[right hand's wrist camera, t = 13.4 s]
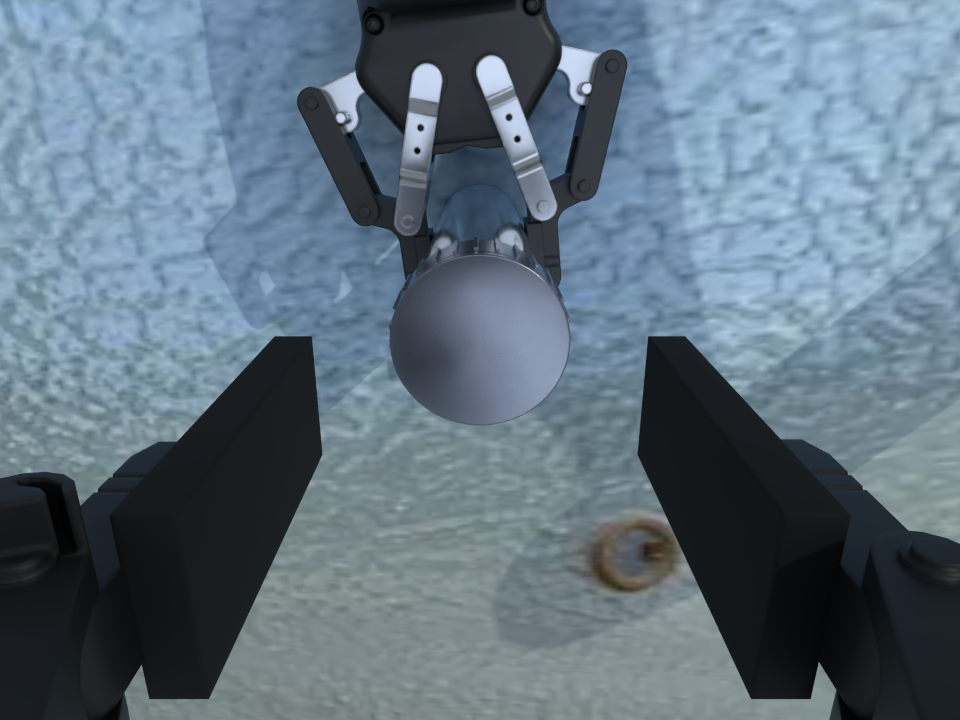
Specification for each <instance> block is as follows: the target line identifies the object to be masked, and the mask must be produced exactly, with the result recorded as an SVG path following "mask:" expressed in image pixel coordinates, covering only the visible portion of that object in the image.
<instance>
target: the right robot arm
mask: <svg viewBox="0 0 960 720" xmlns="http://www.w3.org/2000/svg"><path fill="white" fill-rule="evenodd" d="M321 456H322V445H321V434H320V423H319V412H318V401H317V390H316V379H315V368H314V357H313V346H312V336H275V337H274V338H273V339H272V340H271V341H270V342H269V343H268V344H267V345H266V347H265V348H264V349H263V350H262V351H261V352H260V353H259V354H258V355H257V356H256V357H255V358H254V359H253V361H252V362H251V363H250V364H249V365H248V366H247V367H246V368H245V369H244V370H243V371H242V372H241V374H240V375H239V376H238V377H237V378H236V379H235V380H234V381H233V382H232V383H231V384H230V385H229V386H228V388H227V389H226V390H225V391H224V392H223V393H222V394H221V395H220V396H219V397H218V398H217V399H216V400H215V402H214V403H213V404H212V405H211V406H210V407H209V408H208V409H207V410H206V411H205V412H204V413H203V414H202V416H201V417H200V418H199V419H198V420H197V421H196V422H195V423H194V424H193V425H192V426H191V427H190V428H189V430H188V431H187V432H186V433H185V434H184V435H183V436H182V437H181V438H180V439H179V440H178V441H177V442H157V443H155V444H154V445H152V446H150V447H148V448H146V449H144V450H142V451H141V452H139V453H137V454H135V455H133V456H131V457H130V458H129V459H128V460H127V461H126V462H125V463H124V464H123V465H122V466H121V467H120V468H119V469H118V470H117V471H116V472H115V473H114V474H113V478H109V479H108V480H107V481H106V482H105V483H103V484H102V485H101V486H100V487H99V488H98V493H93V494H92V495H91V496H90V497H89V498H88V499H87V500H86V501H85V502H84V503H83V504H82V505H81V506H80V503H79V499H78V495H77V491H76V486H75V482H74V481H73V480H72V479H70V478H69V477H67V476H66V475H64V474H57V473H50V472H38V473H24V474H18V475H14V476H9V477H5V478H0V720H129V713H128V706H127V702H126V698H125V694H124V692H125V690H126V689H127V687H128V685H129V684H130V682H131V681H132V679H133V677H134V676H135V674H136V672H137V671H138V669H139V668H140V666H141V664H142V667H143V672H144V676H145V681H146V685H147V690H148V695H149V699H209V697H210V695H211V693H212V691H213V689H214V687H215V685H216V682H217V680H218V678H219V676H220V674H221V672H222V670H223V667H224V665H225V663H226V661H227V659H228V657H229V654H230V652H231V650H232V648H233V646H234V644H235V642H236V639H237V637H238V635H239V633H240V631H241V629H242V626H243V624H244V622H245V620H246V618H247V616H248V614H249V611H250V609H251V607H252V605H253V603H254V601H255V599H256V596H257V594H258V592H259V590H260V588H261V586H262V583H263V581H264V579H265V577H266V575H267V573H268V571H269V568H270V566H271V564H272V562H273V560H274V558H275V555H276V553H277V551H278V549H279V547H280V545H281V543H282V540H283V538H284V536H285V534H286V532H287V530H288V527H289V525H290V523H291V521H292V519H293V517H294V515H295V512H296V510H297V508H298V506H299V504H300V502H301V500H302V497H303V495H304V493H305V491H306V489H307V487H308V484H309V482H310V480H311V478H312V476H313V474H314V472H315V469H316V467H317V465H318V463H319V461H320V459H321ZM638 456H639V459H640V461H641V463H642V465H643V467H644V469H645V472H646V474H647V476H648V478H649V480H650V482H651V484H652V487H653V489H654V491H655V493H656V495H657V497H658V500H659V502H660V504H661V506H662V508H663V510H664V512H665V515H666V517H667V519H668V521H669V523H670V525H671V527H672V530H673V532H674V534H675V536H676V538H677V540H678V543H679V545H680V547H681V549H682V551H683V553H684V555H685V558H686V560H687V562H688V564H689V566H690V568H691V571H692V573H693V575H694V577H695V579H696V581H697V583H698V586H699V588H700V590H701V592H702V594H703V596H704V599H705V601H706V603H707V605H708V607H709V609H710V611H711V614H712V616H713V618H714V620H715V622H716V624H717V626H718V629H719V631H720V633H721V635H722V637H723V639H724V642H725V644H726V646H727V648H728V650H729V652H730V654H731V657H732V659H733V661H734V663H735V665H736V667H737V670H738V672H739V674H740V676H741V678H742V680H743V682H744V685H745V687H746V689H747V691H748V693H749V695H750V697H751V699H811V695H812V690H813V685H814V681H815V676H816V672H817V667H818V663H820V664H821V666H822V667H823V669H824V671H825V672H826V674H827V675H828V677H829V679H830V680H831V682H832V683H833V685H834V687H835V688H836V694H835V698H834V702H833V706H832V711H831V715H830V719H829V720H960V544H959V543H957V542H954V541H952V540H950V539H947V538H943V537H940V536H936V535H932V534H928V533H924V532H917V531H908V530H907V529H906V528H905V527H904V526H903V525H902V524H901V523H900V522H899V521H898V520H897V519H896V518H895V517H894V516H893V515H892V514H891V513H890V512H888V511H887V510H886V509H885V508H884V507H883V506H882V505H881V504H880V503H879V502H878V501H877V500H876V499H875V498H874V497H873V496H872V495H871V494H870V493H869V492H868V491H867V490H863V488H862V487H863V486H862V485H861V484H860V483H859V482H858V481H857V480H855V479H854V478H853V477H852V476H851V475H848V474H847V471H846V470H845V469H844V468H843V467H842V466H841V465H840V464H839V463H838V462H837V461H836V460H835V459H834V458H833V457H832V456H831V455H830V454H828V453H826V452H824V451H822V450H820V449H819V448H817V447H815V446H813V445H811V444H809V443H807V442H805V441H804V440H802V439H780V438H779V437H778V436H777V435H776V434H775V433H774V432H773V431H772V430H771V428H770V427H769V426H768V425H767V424H766V423H765V422H764V421H763V420H762V419H761V418H760V417H759V416H758V414H757V413H756V412H755V411H754V410H753V409H752V408H751V407H750V406H749V405H748V404H747V403H746V402H745V400H744V399H743V398H742V397H741V396H740V395H739V394H738V393H737V392H736V391H735V390H734V389H733V388H732V386H731V385H730V384H729V383H728V382H727V381H726V380H725V379H724V378H723V377H722V376H721V375H720V374H719V372H718V371H717V370H716V369H715V368H714V367H713V366H712V365H711V364H710V363H709V362H708V361H707V359H706V358H705V357H704V356H703V355H702V354H701V353H700V352H699V351H698V350H697V349H696V348H695V347H694V345H693V344H692V343H691V342H690V341H689V340H688V339H687V338H686V337H685V336H648V345H647V357H646V368H645V379H644V390H643V401H642V412H641V423H640V434H639V445H638Z"/></svg>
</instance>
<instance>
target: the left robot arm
mask: <svg viewBox="0 0 960 720" xmlns="http://www.w3.org/2000/svg"><path fill="white" fill-rule="evenodd" d="M357 2H358V8H359V14H360V21H361V28H362V39H361V46H360V50H359V53H358V56H357V59H356V64H355V71H353V72H351V73H349V74H347V75H345V76H343V77H341V78H339V79H337V80H335V81H332V82H330V83H328V84H326V85H324V86H322V87H308V88H305V89H303V90H302V91H301V92H300V94H299V95H298V99H297V105H298V108H299V110H300V112H301V114H302V116H303V118H304V120H305V123H306V125H307V127H308V129H309V131H310V133H311V135H312V137H313V139H314V141H315V143H316V145H317V147H318V149H319V151H320V153H321V155H322V157H323V159H324V161H325V163H326V165H327V167H328V169H329V171H330V173H331V176H332V178H333V180H334V182H335V184H336V186H337V188H338V190H339V192H340V194H341V196H342V198H343V200H344V202H345V204H346V206H347V208H348V210H349V212H350V214H351V216H352V218H353V220H354V221H355V222H356V223H357V224H359V225H361V226H369V225H373V226H378V227H382V228H386V229H389V230H391V231H392V232H394V233H395V234H396V236H397V237H398V239H399V242H400V247H401V253H402V260H403V267H404V273H405V280H406V279H407V277H408V275H409V273H410V274H413V273H414V271H415V270H416V269H417V267H418V265H419V262H420V260H421V259H424V258H425V256H426V253H427V251H428V248H429V245H430V243H431V240H432V238H433V235H434V233H433V228H428V224H427V216H426V212H427V205H428V199H429V192H430V186H431V180H432V175H433V170H434V164H435V157H436V154H445V153H451V152H453V151H455V150H458V149H460V148H463V147H465V146H474V147H480V148H486V149H487V148H496V147H503V148H504V150H505V153H506V155H507V158H508V160H509V163H510V165H511V168H512V170H513V173H514V175H515V178H516V180H517V183H518V185H519V188H520V190H521V193H522V195H523V198H524V200H525V203H526V206H527V217H523V221H524V230H525V233H526V235H527V238H528V240H529V243H530V246H531V248H532V251H533V253H534V256H535V259H536V261H537V262H538V263H539V264H540V265H541V267H542V268H543V269H545V268H547V269H548V271H549V273H550V276H551V278H552V280H553V282H554V285H555V284H557V286H559V283H560V280H561V268H560V256H559V255H560V254H559V240H558V226H557V223H558V219H559V216H560V215H561V213H562V212H563V211H564V210H565V209H567V208H568V207H570V206H572V205H574V204H576V203H578V202H580V201H586V200H589V199H591V198H592V197H593V196H594V195H595V194H596V192H597V190H598V186H599V182H600V177H601V173H602V169H603V165H604V161H605V157H606V153H607V148H608V144H609V140H610V136H611V132H612V128H613V123H614V119H615V115H616V111H617V107H618V103H619V99H620V94H621V90H622V86H623V82H624V78H625V74H626V70H627V60H626V58H625V56H624V55H623V54H622V53H621V52H620V51H618V50H608V51H606V52H604V53H597V52H592V51H587V50H582V49H578V48H573V47H568V46H563V45H562V44H561V40H560V37H559V35H558V33H557V32H556V30H555V29H554V27H553V25H552V23H551V21H550V19H549V16H548V12H547V7H546V0H357ZM556 71H558V72H560V73H562V74H563V75H564V77H565V79H566V81H567V95H568V98H569V99H570V101H571V102H572V103H574V104H576V105H580V107H579V111H578V116H577V120H576V125H575V129H574V134H573V138H572V143H571V147H570V152H569V156H568V161H567V165H566V170H565V174H563V175H561V176H559V177H557V178H555V179H553V180H551V181H548V178H547V176H546V173H545V170H544V168H543V165H542V162H541V158H540V155H539V153H538V150H537V147H536V145H535V142H534V139H533V137H532V134H531V132H530V129H529V126H528V124H527V122H528V121H529V119H530V117H531V115H532V113H533V112H534V110H535V108H536V106H537V104H538V103H539V101H540V99H541V97H542V95H543V94H544V92H545V90H546V88H547V86H548V85H549V83H550V81H551V79H552V78H553V76H554V74H555V72H556ZM366 94H367V95H368V96H369V97H370V98H371V100H372V101H373V102H374V103H375V104H376V105H377V106H378V107H379V108H380V110H381V111H382V112H383V113H384V114H385V115H386V116H387V117H388V118H389V120H390V121H391V122H392V123H393V124H394V125H395V126H396V127H397V128H398V130H399V131H400V132H401V133H402V134H403V135H404V142H403V149H402V156H401V164H400V171H399V187H398V194H397V198H394V197H390V196H386V195H382V193H381V191H380V189H379V187H378V184H377V182H376V180H375V178H374V176H373V174H372V172H371V170H370V167H369V165H368V163H367V161H366V159H365V157H364V155H363V153H362V150H361V148H360V146H359V144H358V142H357V140H356V138H355V136H354V133H353V132H354V131H356V130H357V129H358V128H359V127H360V125H361V122H362V115H361V112H360V102H361V99H362V98H363V96H364V95H366Z"/></svg>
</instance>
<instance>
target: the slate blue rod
mask: <svg viewBox="0 0 960 720" xmlns="http://www.w3.org/2000/svg"><path fill="white" fill-rule="evenodd" d="M474 237H478V239H484V240H494V239H495V238H497V239H498V240H499V242H503V243H506V244H509V245H511V246H513V245H514V244H516V245H518V249H520V250H522V251H524V252H525V253H526V254H528V255H529V256H530V255H531V254H533V255H534V253H533V251H532V248H531V246H530V243H529V240H528V238H527V235H526V233H525V230H524V228H523V225H522V222H521V220H520V217H519V215H518V212H517V210H516V207H515V205H514V203H513V202H512V200H511V199H510V198H509V197H508V196H507V195H506V194H505V193H504V192H503V191H501V190H499V189H498V188H496V187H493V186H490V185H484V184H475V185H470V186H467V187H464V188H462V189H460V190H459V191H457V192H456V193H455V194H454V195H453V196H452V197H451V198H450V199H449V200H448V202H447V203H446V205H445V207H444V209H443V212H442V215H441V217H440V220H439V222H438V225H437V227H436V230H435V233H434V235H433V238H432V240H431V243H430V245H429V248H428V251H427V253H426V256H425V258H424V260H426V259H427V258H428V257H429V256H430V255H432V254H434V253H435V250H436V248H438V247H439V248H440V249H442V248H444V247H446V246H448V245H451V244H454V241H455V240H458V242H461V241H467V240H474Z"/></svg>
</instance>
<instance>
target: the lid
mask: <svg viewBox="0 0 960 720" xmlns="http://www.w3.org/2000/svg"><path fill="white" fill-rule="evenodd" d="M402 290H403V291H400V293H399V295H398V297H397V299H396V302H395V304H394V306H393V309H395V312H394V315H393V318H392V320H391V322H390V324H389V328H390V350H391V356H392V360H393V364H394V367H395V369H396V372H397V374H398V376H399V378H400V380H401V382H402V383H403V385H404V386H405V388H406V389H407V390H408V392H409V393H410V394H411V395H412V396H413V397H414V398H415V399H416V400H417V401H418V402H419V403H420V404H421V405H423V406H424V407H425V408H427V409H428V410H430V411H431V412H433V413H435V414H436V415H439V416H441V417H443V418H445V419H448V420H451V421H454V422H458V423H463V424H469V425H491V424H497V423H502V422H506V421H509V420H512V419H515V418H517V417H519V416H522V415H523V414H525V413H527V412H529V411H530V410H532V409H533V408H535V407H536V406H537V405H539V404H540V403H541V402H542V401H543V400H544V399H545V398H546V397H547V396H548V395H549V394H550V393H551V391H552V390H553V389H554V388H555V386H556V385H557V383H558V381H559V380H560V378H561V376H562V374H563V372H564V369H565V367H566V363H567V360H568V356H569V349H570V341H571V336H570V330H569V323H568V321H570V318H569V315H568V313H567V311H566V309H565V306H564V304H563V302H564V299H563V297H562V295H561V293H560V290H559V288H558V286H557V284H555V285H554V282H553V280H552V278H551V276H550V273H549V271H548V269H547V268H545V269H543V268H542V267H541V265H540V264H539V263H538V262H537V261H536V259H535V256H534V255H533V254H531V255H530V256H529V255H528V254H526V253H525V252H524V251H522V250H520V249H518V245H516V244H514V245H513V246H511V245H509V244H506V243H503V242H499V240H498V239H497V238H495V239H494V240H484V239H478V237H474V240H467V241H461V242H458V240H455V241H454V244H451V245H448V246H446V247H444V248H442V249H440V248H439V247H438V248H436V250H435V253H434V254H432V255H430V256H429V257H428V258H427V259H426V260H424V259H421V260H420V262H419V265H418V267H417V269H416V270H415V271H414V273H413V274H410V273H409V275H408V277H407V279H406V281H405V283H404V285H403V288H402Z"/></svg>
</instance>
